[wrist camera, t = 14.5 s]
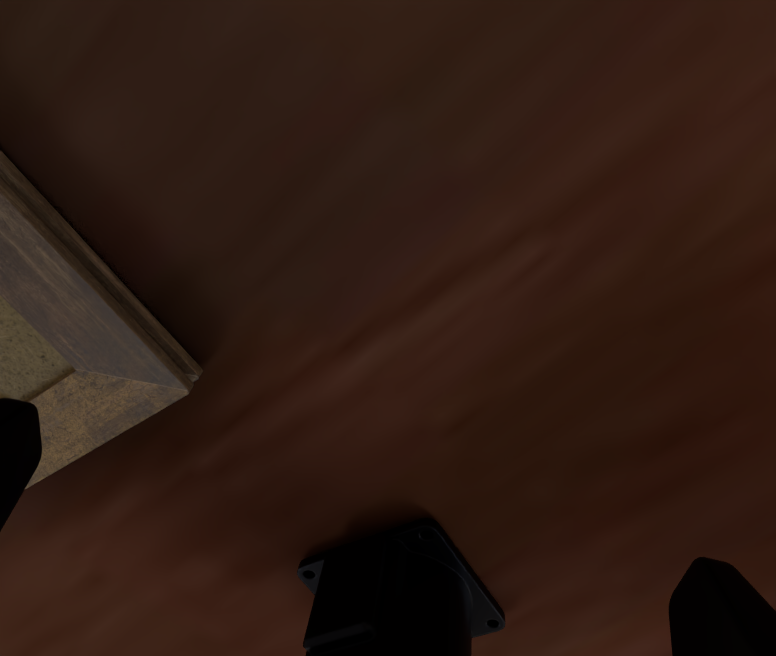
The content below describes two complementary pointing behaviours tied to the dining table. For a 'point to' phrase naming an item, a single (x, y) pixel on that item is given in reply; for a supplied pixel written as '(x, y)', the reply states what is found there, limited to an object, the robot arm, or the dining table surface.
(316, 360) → the dining table surface
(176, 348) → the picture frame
